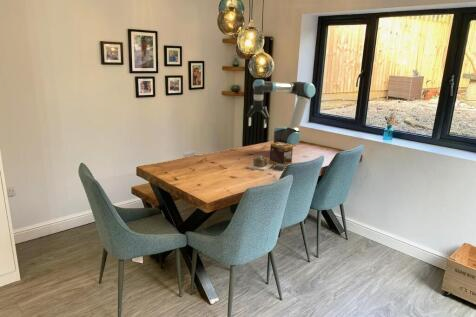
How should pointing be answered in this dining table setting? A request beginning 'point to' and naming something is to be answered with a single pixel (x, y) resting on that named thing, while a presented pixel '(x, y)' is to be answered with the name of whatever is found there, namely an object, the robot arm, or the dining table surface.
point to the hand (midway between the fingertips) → (257, 126)
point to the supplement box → (281, 153)
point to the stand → (279, 166)
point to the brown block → (260, 162)
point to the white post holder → (260, 167)
